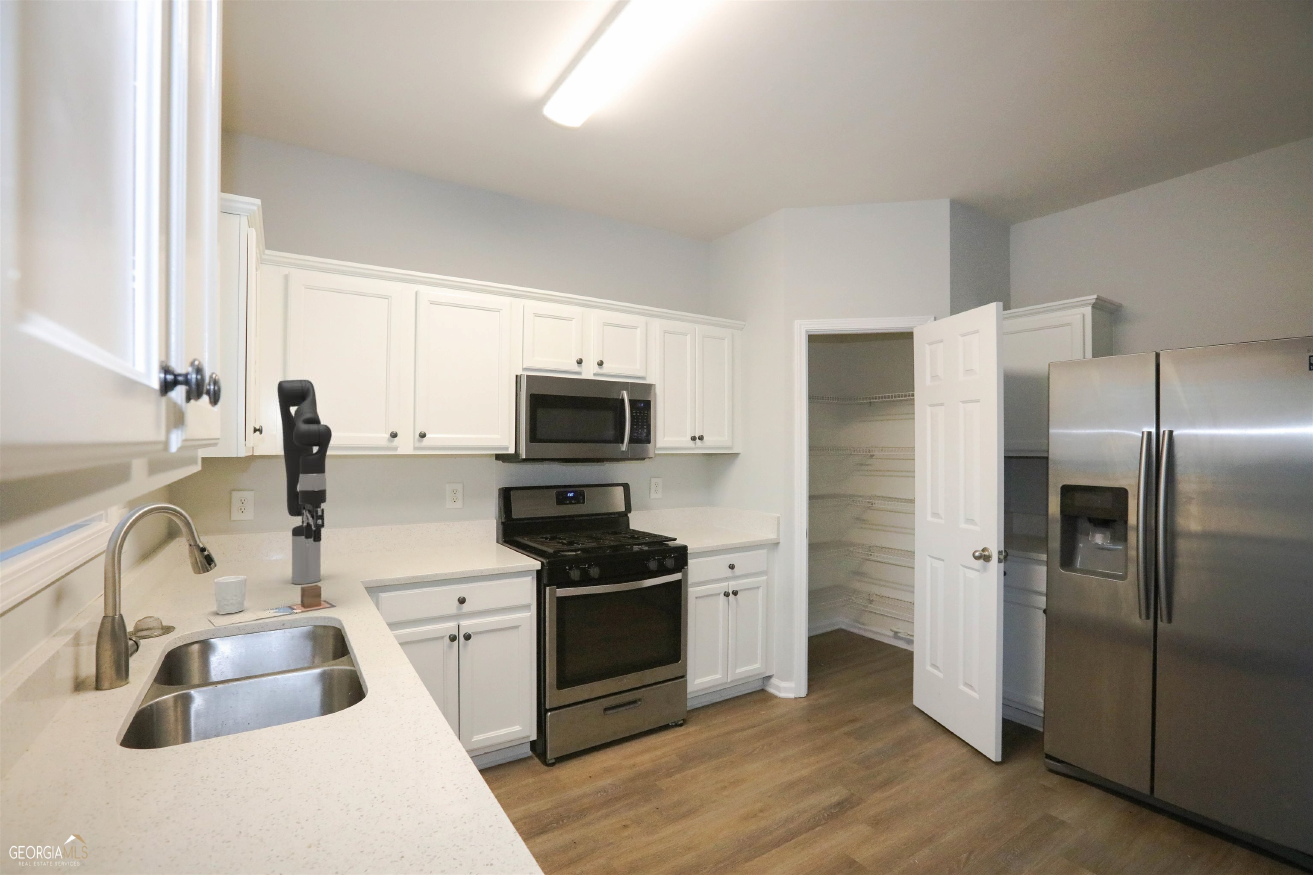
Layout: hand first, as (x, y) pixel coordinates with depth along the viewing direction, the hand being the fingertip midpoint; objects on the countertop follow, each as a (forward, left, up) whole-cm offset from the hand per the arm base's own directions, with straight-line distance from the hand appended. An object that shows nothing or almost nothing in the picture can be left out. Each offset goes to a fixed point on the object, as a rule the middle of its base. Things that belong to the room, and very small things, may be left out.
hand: (312, 540), depth 196 cm
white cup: (-10, -20, -21) cm, 30 cm away
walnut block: (+1, -1, -20) cm, 20 cm away
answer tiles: (+1, -11, -20) cm, 23 cm away
